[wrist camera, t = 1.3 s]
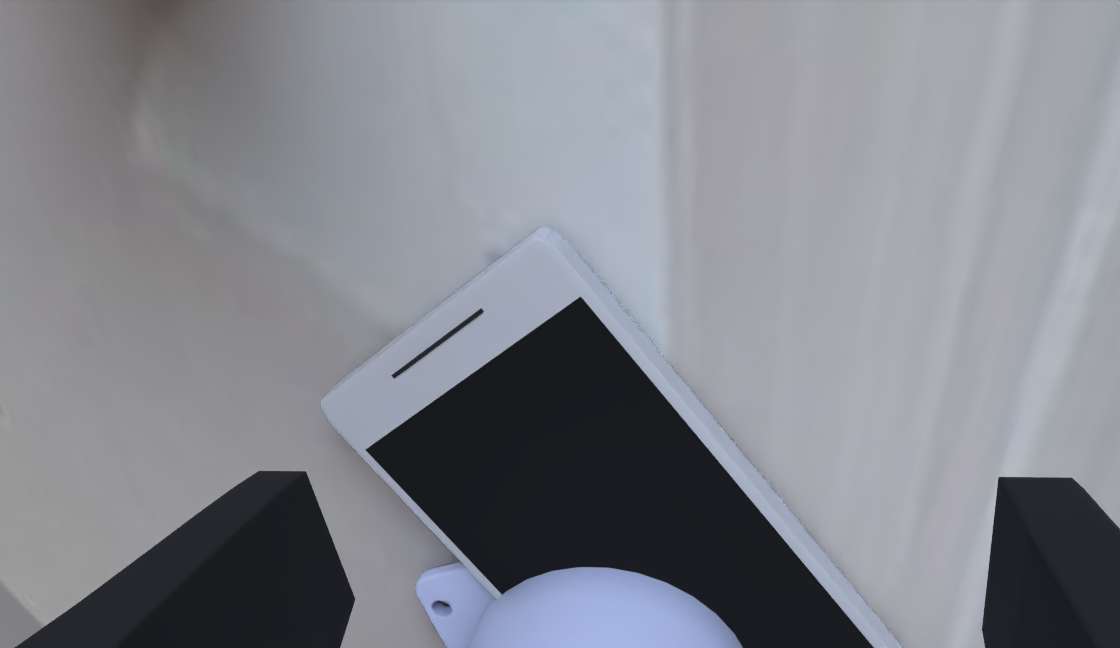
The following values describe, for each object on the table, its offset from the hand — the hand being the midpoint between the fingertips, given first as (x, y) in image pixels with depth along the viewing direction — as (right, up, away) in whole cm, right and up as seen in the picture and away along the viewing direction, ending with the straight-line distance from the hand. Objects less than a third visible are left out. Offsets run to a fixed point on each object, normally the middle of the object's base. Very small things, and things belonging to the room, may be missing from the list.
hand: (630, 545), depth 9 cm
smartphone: (+1, -3, +12) cm, 13 cm away
